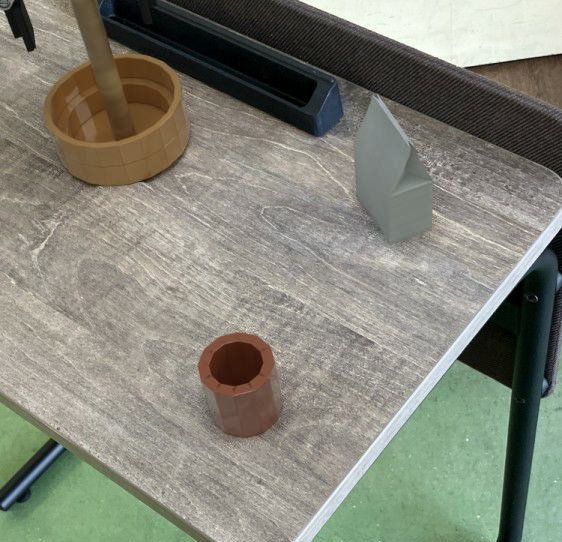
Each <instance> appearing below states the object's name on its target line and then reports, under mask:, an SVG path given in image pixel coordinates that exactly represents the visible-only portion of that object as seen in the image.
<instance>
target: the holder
mask: <svg viewBox="0 0 562 542" xmlns="http://www.w3.org/2000/svg"><path fill="white" fill-rule="evenodd" d="M197 370H198V375H199V379H200V383H201V386H202V389H203V392H204V395H205V399H206V402H207V406H208V409H209V411H210V415H211V417H212V421H213V423H214V425H216V426H217V427H218V428H219V430H222V431H223V432H224V433H225V434H226V435H230V436H233V437H239V438H251V437H255V436H258V435H261V434H263V433H265V432H266V431H268V430H270V429H271V428H272V427H273V426H274V425H275V424H276V423H277V422H278V420H279V418H280V416H281V414H282V409H283V406H284V401H283V396H282V391H281V387H280V380H279V375H278V370H277V365H276V360H275V357H274V353H273V349H272V346H271V345H270V344H268V343H267V342H266V341H265V340H263V339H262V338H261V337H259V335H256V334H251V333H246V332H241V331H235V332H233V333H229V334H224V335H220V336H218V337H217V338H215V339H214V340H213V341H212V342H211V343H209V344H208V345H207V346H206V347H205V348H203V351H202V353H201V355H200V357H199V360H198V363H197Z"/></svg>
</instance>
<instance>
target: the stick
mask: <svg viewBox="0 0 562 542" xmlns="http://www.w3.org/2000/svg"><path fill="white" fill-rule="evenodd" d="M69 2H70V5H71V8H72V11H73V14H74V17H75V20H76V23H77V26H78V30H79V32H80V36H81V38H82V39H81V40H82V42H83V45H84V48H85V52H86V54H87V58H88V61H90V64H91V67H92V70H93V73H94V76H95V79H96V82H97V85H98V88H99V91H100V94H101V98H102V101H103V104H104V107H105V110H106V113H107V116H108V119H109V122H110V125H111V128H112V131H113V135H114V138H115V140H116V141H119V140H123V139H126V138H129V137H132V136H135V135H136V131H135V128H134V124H133V121H132V118H131V114H130V111H129V108H128V104H127V101H126V98H125V94H124V91H123V87H122V84H121V81H120V77H119V74H118V71H117V67H116V64H115V61H114V57H113V55H114V54H113V51H112V47H111V45H110V40H109V37H108V34H107V31H106V27H105V25H104V20H103V18H102V14H101V10H100V7H99V4H98V1H97V0H69Z"/></svg>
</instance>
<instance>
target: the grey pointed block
mask: <svg viewBox="0 0 562 542" xmlns="http://www.w3.org/2000/svg"><path fill="white" fill-rule="evenodd" d="M361 122H362V123H361V125H360V127H359V129H358V131H357V134H356V136H355V138H354V140H353V157H354V178H355V196H356V197H357V198H358V200H359V202H360V203H361V205H362V207H363V208H364V210H365V211H366V213H367V215H368V216H369V217H371V218H372V219H373V220H374V223H375V224H376V225H377V227H378V229H379V231H380V232H381V233H382V235H383V236H384V239H385V240H386V242H387V243H388V244H389V246H392V245H395V244H398V243H400V242H403V241H406V240H409V239H412V238H414V237H417V236H419V235H422V234H425V233H427V232H430V231H432V229H433V208H434V207H433V206H434V186H435V184H434V183H435V181H434V179H433V178H432V177H431V175H430V173H429V172H428V170H427V169H426V168H425V166H424V165H423V163H422V161H421V159H420V158H419V155H418V153H417V149H416V146H415V145H414V144H413V142H412V141H411V139H410V138H409V137H408V135H407V133H406V132H405V131H404V129H403V128H402V126H401V125H400V124H399V122H398V121H397V119H396V118H395V117H394V115H393V114H392V113H391V111H390V109H389V108H388V107H387V105H386V104H385V102H383V100H382V99H381V97H380V96H379V94H378V93H376V96H375V95H374V94H371V98H370V103H369V105H368V108H367V110H366V114H365V116H364V118H363V120H362V121H361Z"/></svg>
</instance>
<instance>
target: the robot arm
mask: <svg viewBox="0 0 562 542" xmlns="http://www.w3.org/2000/svg"><path fill="white" fill-rule="evenodd" d="M137 2H138V6H139V9H140V13H141V18H142V21H143V24H146V25H151V24H154V21H153V18H152V14H151V10H150V9H151V8H155V7H158V2H157V0H137ZM0 10H1V11H3V13H4V15H5V17H6V20H7V23H8V26H9V27H10V30H11V34H12V36H13V38H14V39H15V40H16V39H17V40H18V39H22V41H23V44H24V46H25V49H26V51H27V53H31V52H35V50H36V49H37V44H36V37H35V36H36V35H35V29H34V26H33V23H32V20H31V18H30V15H29V11H28V9H27V6H26V4H25V1H24V0H0Z"/></svg>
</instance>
